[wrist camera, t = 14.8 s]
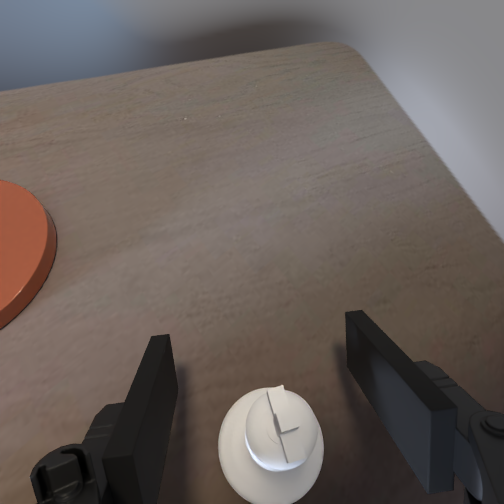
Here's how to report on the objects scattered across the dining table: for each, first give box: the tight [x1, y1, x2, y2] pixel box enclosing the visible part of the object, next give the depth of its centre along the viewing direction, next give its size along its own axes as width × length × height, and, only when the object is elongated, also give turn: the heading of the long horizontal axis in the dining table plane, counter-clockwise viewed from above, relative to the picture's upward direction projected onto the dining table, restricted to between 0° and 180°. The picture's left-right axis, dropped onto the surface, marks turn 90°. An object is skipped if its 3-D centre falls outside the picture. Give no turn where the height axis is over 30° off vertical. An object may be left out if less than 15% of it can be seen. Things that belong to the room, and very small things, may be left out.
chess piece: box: [218, 385, 324, 504], centre depth 12 cm, size 5×5×10 cm
